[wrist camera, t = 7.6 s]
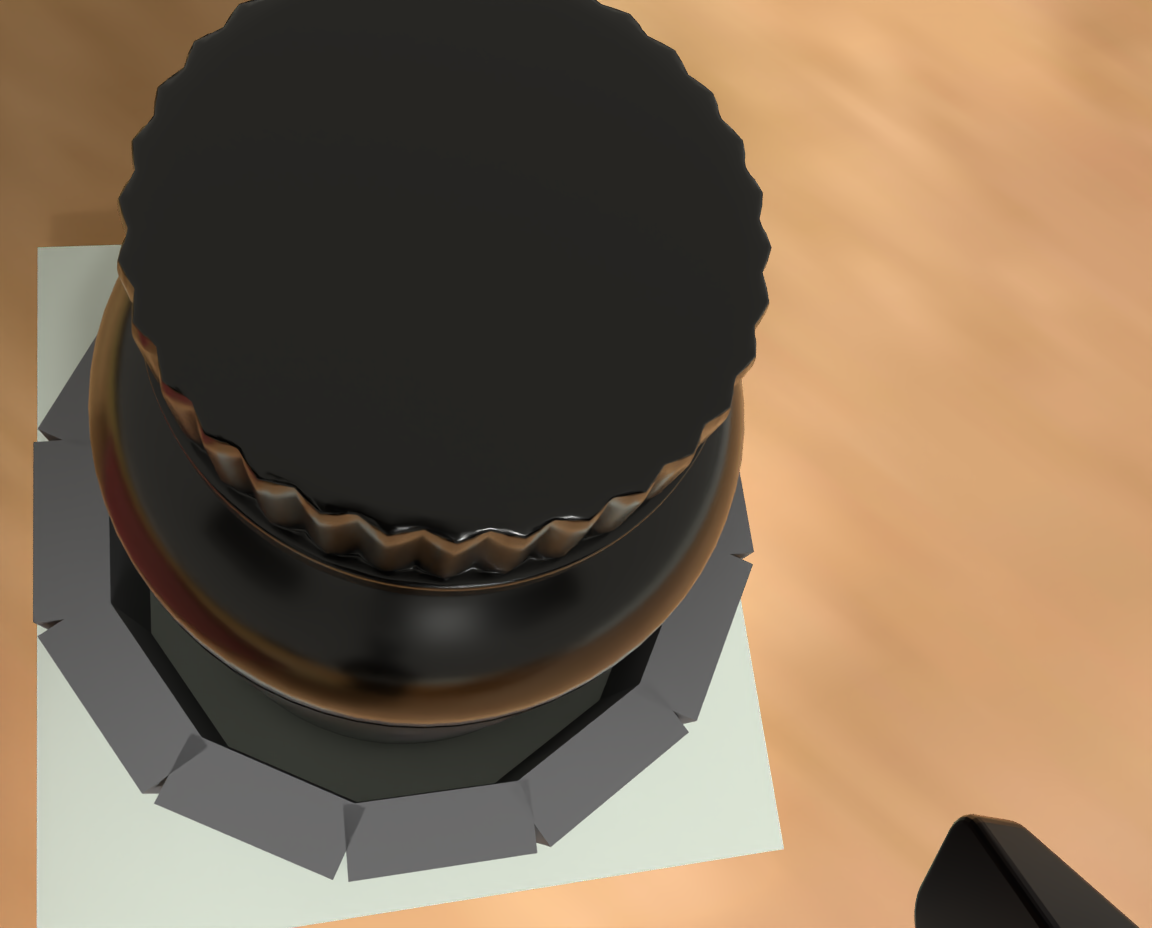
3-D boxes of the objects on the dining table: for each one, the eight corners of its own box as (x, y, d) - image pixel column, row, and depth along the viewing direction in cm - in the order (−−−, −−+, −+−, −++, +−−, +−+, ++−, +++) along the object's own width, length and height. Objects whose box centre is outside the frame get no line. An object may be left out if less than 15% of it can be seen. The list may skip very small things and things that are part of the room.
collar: (89, 907, 17) (31, 931, 14) (82, 283, 19) (33, 196, 17) (735, 810, 19) (800, 812, 16) (646, 262, 22) (687, 183, 19)
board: (54, 958, 17) (36, 968, 16) (52, 272, 20) (37, 247, 19) (763, 845, 20) (783, 848, 19) (664, 251, 23) (676, 227, 22)
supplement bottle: (132, 478, 19) (-233, -10, 7) (475, 311, 21) (604, -271, 9) (326, 835, 18) (251, 911, 6) (669, 622, 20) (1075, 389, 8)
